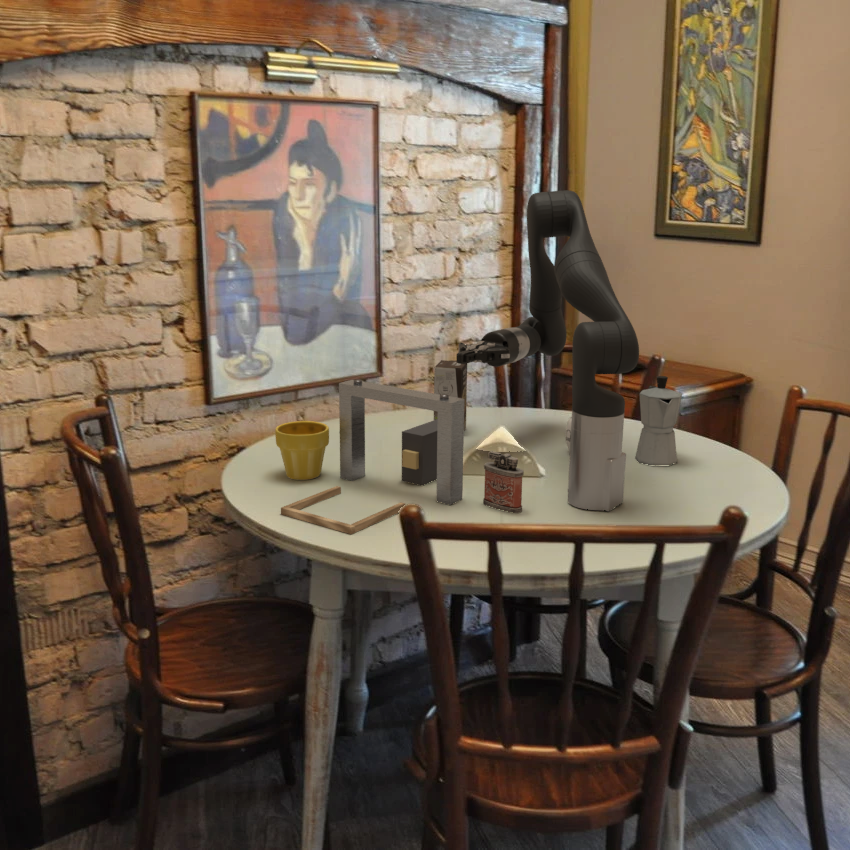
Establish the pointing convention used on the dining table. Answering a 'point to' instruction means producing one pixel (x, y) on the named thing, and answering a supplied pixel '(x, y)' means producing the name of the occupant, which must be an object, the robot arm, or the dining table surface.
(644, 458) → the coffee maker
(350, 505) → the dining table surface
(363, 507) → the dining table surface
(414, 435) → the dark grey box
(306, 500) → the bay
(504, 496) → the lighter
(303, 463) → the plant pot
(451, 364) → the coffee box
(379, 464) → the dining table surface
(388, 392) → the grey metal arch
